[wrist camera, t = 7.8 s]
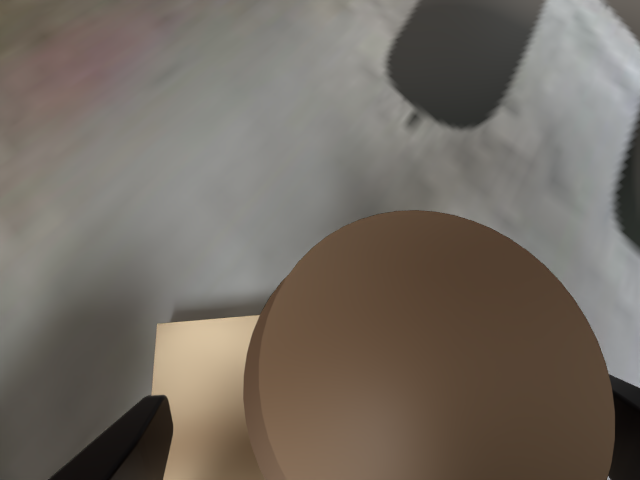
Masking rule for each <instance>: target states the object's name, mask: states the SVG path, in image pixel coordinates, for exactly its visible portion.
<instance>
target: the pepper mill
mask: <svg viewBox="0 0 640 480" xmlns="http://www.w3.org/2000/svg"><path fill="white" fill-rule="evenodd" d="M243 401H244V410H245V420H246V425H247V429H248V434H249V438H250V442H251V446H252V449H253V452H254V454H255V457H256V460H257V463H258V465H259V468H260V470H261V472H262V474H263V476H264V478H265V480H607V478H608V474H609V470H610V467H611V463H612V456H613V448H614V441H615V409H614V401H613V393H612V386H611V382H610V378H609V374H608V370H607V366H606V363H605V360H604V357H603V354H602V352H601V349H600V346H599V344H598V341H597V339H596V337H595V335H594V333H593V331H592V329H591V327H590V325H589V323H588V321H587V319H586V317H585V316H584V314H583V312H582V311H581V309H580V308H579V306H578V305H577V303H576V301H575V300H574V298H573V297H572V296H571V295H570V293H569V292H568V291H567V290H566V288H565V287H564V286H563V284H562V283H561V282H560V281H559V280H558V279H557V278H556V277H555V276H554V275H553V273H552V272H551V271H550V270H549V269H548V268H547V267H546V266H545V265H544V264H543V263H541V262H540V261H539V260H538V259H537V258H535V257H534V256H533V255H532V254H531V253H530V252H528V251H527V250H526V249H524V248H523V247H521V246H520V245H518V244H517V243H515V242H514V241H513V240H511V239H510V238H508V237H506V236H504V235H502V234H500V233H499V232H497V231H495V230H493V229H491V228H489V227H486V226H484V225H482V224H479V223H477V222H474V221H472V220H468V219H465V218H462V217H458V216H455V215H450V214H445V213H440V212H433V211H419V210H410V211H394V212H388V213H382V214H377V215H373V216H370V217H367V218H363V219H360V220H358V221H355V222H353V223H351V224H348V225H346V226H344V227H342V228H340V229H339V230H337V231H335V232H333V233H332V234H330V235H328V236H327V237H326V238H324V239H323V240H322V241H320V242H319V243H318V244H317V245H315V246H314V247H313V248H312V249H311V250H310V251H309V252H308V253H307V254H306V255H305V256H304V257H303V258H302V259H301V260H300V261H299V262H298V263H297V264H296V266H295V267H294V268H293V270H292V271H291V272H290V274H289V275H288V276H287V277H286V278H285V279H284V280H283V281H282V282H281V283H280V285H279V286H278V287H277V289H276V290H275V291H274V292H273V294H272V295H271V296H270V298H269V300H268V301H267V303H266V305H265V307H264V308H263V310H262V312H261V314H260V316H259V318H258V321H257V323H256V326H255V328H254V330H253V333H252V336H251V340H250V344H249V347H248V351H247V356H246V363H245V370H244V385H243Z"/></svg>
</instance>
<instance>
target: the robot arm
mask: <svg viewBox="0 0 640 480" xmlns="http://www.w3.org/2000/svg"><path fill="white" fill-rule="evenodd" d="M609 378H610V382H611V386H612V393H613V401H614V409H615V441H614V448H613V456H612V463H611V467H610V470H609V474H608V476H609V478H610V479H611V480H640V388H638V387H636V386H634V385H631V384H629V383H627V382H625V381H623V380H621V379H618V378H616V377H614V376H612V375H610V374H609ZM172 437H173V421H172V415H171V410H170V405H169V400H168V398H167V396H165V395H150V396H146V397H144V398H143V399H142V400H141V401H139V402H138V403H137V404H136V405H135V406H134V407H132V408H131V409H130V410H129V411H128V412H127V413H125V414H124V415H123V416H122V417H121V418H120V419H118V420H117V421H116V422H115V423H114V424H113V425H111V426H110V427H109V428H108V429H107V430H105V431H104V432H103V433H102V434H101V435H100V436H98V437H97V438H96V439H95V440H94V441H93V442H91V443H90V444H89V445H88V446H87V447H86V448H84V449H83V450H82V451H81V452H80V453H79V454H77V455H76V456H75V457H74V458H73V459H72V460H70V461H69V462H68V463H67V464H66V465H65V466H63V467H62V468H61V469H60V470H59V471H58V472H56V473H55V474H54V475H53V476H52V477H51V478H49V479H48V480H163V478H164V473H165V469H166V464H167V460H168V455H169V451H170V446H171V442H172Z"/></svg>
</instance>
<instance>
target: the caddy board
mask: <svg viewBox="0 0 640 480" xmlns="http://www.w3.org/2000/svg"><path fill="white" fill-rule="evenodd" d="M259 316H260V315H254V316H242V317H231V318H219V319H207V320H196V321H184V322H172V323H161V324H157V333H156V345H155V358H154V370H153V383H152V395H165V396H167V398H168V400H169V405H170V410H171V415H172V421H173V437H172V442H171V446H170V451H169V455H168V460H167V464H166V469H165V473H164V478H163V480H265V478H264V476H263V474H262V472H261V470H260V468H259V465H258V463H257V460H256V457H255V454H254V452H253V449H252V446H251V442H250V438H249V434H248V429H247V425H246V420H245V410H244V401H243V385H244V370H245V363H246V356H247V351H248V347H249V344H250V340H251V336H252V333H253V330H254V328H255V326H256V323H257V321H258V318H259Z"/></svg>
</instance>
